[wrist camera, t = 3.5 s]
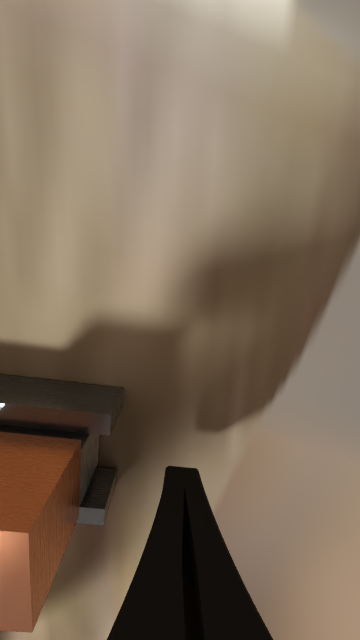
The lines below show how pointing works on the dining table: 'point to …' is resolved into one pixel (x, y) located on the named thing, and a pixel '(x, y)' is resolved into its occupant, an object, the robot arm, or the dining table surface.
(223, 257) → the dining table surface
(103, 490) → the socket
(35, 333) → the dining table surface
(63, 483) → the orange block
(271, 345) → the dining table surface
